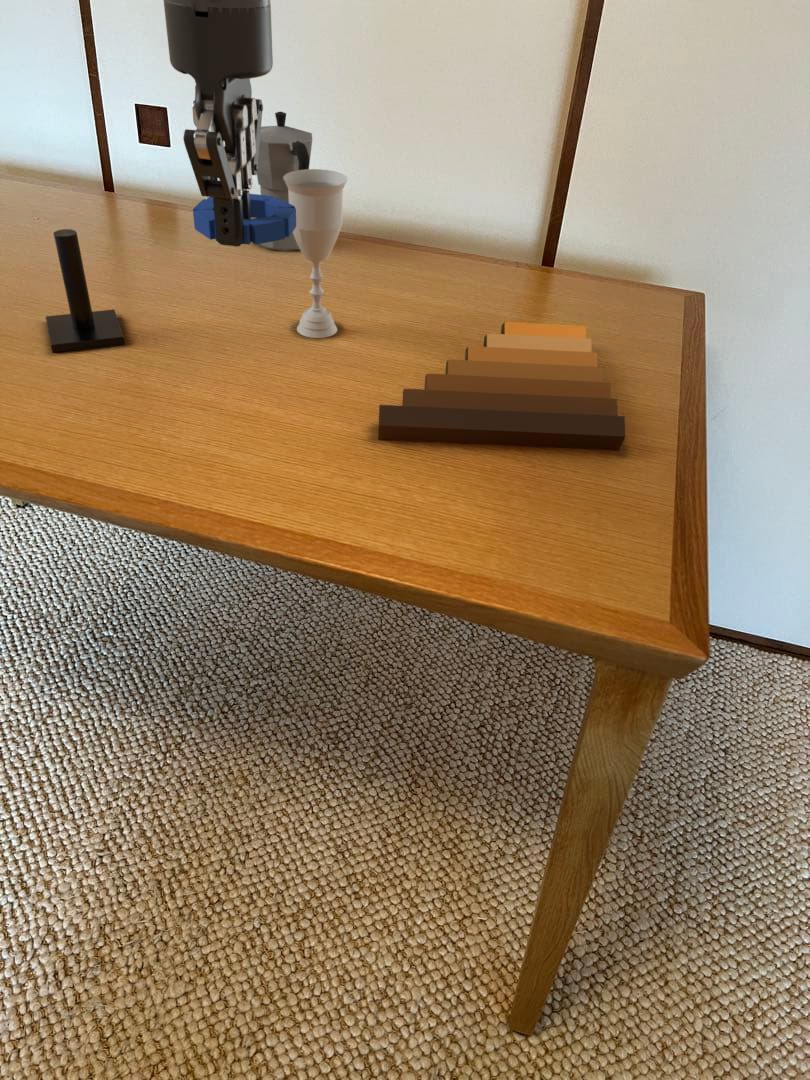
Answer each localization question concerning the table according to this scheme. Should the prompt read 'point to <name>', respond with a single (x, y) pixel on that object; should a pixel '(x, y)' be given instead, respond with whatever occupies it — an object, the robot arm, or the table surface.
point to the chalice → (316, 235)
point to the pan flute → (514, 395)
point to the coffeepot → (281, 166)
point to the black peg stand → (79, 305)
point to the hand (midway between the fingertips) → (234, 239)
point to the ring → (268, 223)
